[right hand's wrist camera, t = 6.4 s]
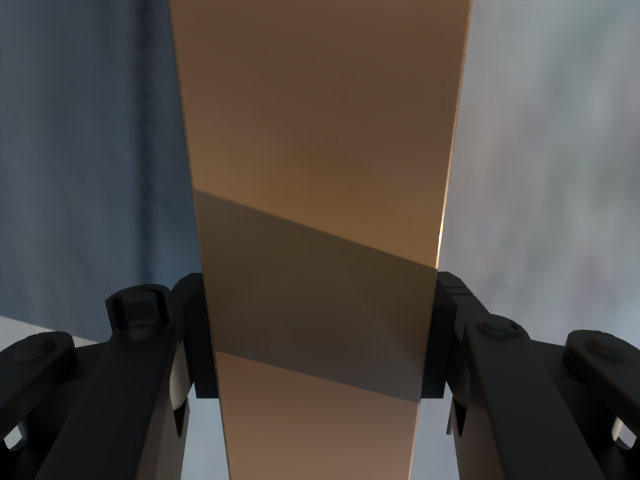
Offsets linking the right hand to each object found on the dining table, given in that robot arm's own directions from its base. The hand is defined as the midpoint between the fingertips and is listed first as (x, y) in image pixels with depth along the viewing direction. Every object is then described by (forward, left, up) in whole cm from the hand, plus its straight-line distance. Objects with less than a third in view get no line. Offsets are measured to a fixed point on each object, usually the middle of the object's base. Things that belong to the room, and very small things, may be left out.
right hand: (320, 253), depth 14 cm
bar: (+8, +25, -1) cm, 26 cm away
